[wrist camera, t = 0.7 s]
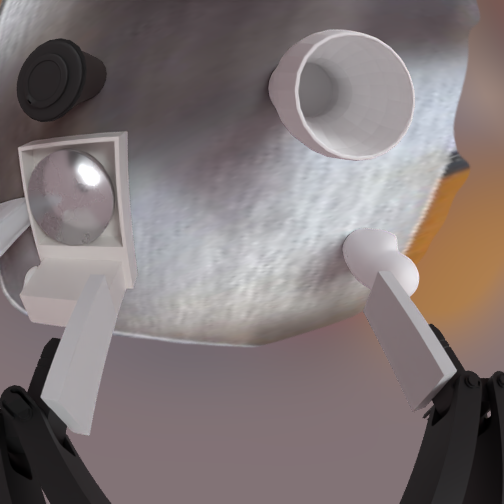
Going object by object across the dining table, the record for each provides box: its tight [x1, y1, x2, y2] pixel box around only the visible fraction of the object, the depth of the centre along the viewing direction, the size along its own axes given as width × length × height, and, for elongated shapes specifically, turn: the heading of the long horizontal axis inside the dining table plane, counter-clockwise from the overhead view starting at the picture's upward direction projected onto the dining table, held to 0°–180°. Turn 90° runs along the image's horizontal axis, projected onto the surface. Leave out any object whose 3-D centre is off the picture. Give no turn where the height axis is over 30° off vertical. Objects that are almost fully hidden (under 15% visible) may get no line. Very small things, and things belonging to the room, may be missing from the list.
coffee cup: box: [17, 38, 107, 122], centre depth 21 cm, size 8×8×10 cm
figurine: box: [342, 228, 419, 297], centre depth 37 cm, size 7×8×12 cm
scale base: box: [18, 131, 138, 327], centre depth 29 cm, size 21×14×11 cm
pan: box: [28, 148, 115, 245], centre depth 30 cm, size 12×12×3 cm
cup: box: [268, 30, 415, 161], centre depth 23 cm, size 11×11×15 cm
